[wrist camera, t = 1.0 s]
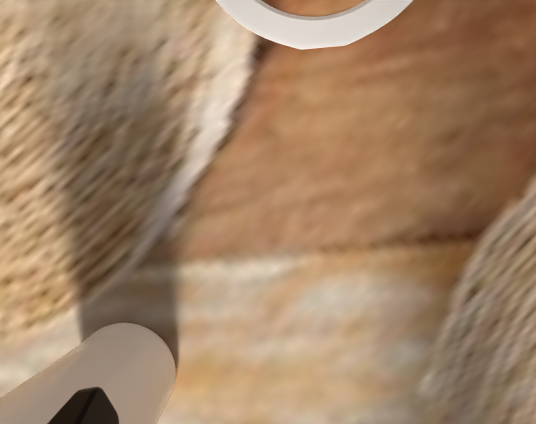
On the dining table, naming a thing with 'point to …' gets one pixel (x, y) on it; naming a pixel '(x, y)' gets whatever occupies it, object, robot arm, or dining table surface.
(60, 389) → the drinking glass
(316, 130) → the dining table surface
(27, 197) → the dining table surface
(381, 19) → the candle holder
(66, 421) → the robot arm
